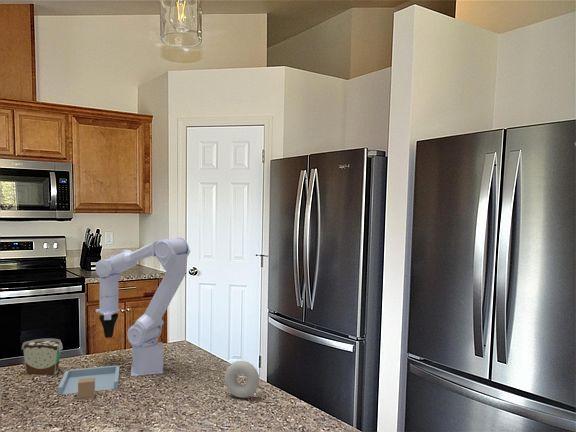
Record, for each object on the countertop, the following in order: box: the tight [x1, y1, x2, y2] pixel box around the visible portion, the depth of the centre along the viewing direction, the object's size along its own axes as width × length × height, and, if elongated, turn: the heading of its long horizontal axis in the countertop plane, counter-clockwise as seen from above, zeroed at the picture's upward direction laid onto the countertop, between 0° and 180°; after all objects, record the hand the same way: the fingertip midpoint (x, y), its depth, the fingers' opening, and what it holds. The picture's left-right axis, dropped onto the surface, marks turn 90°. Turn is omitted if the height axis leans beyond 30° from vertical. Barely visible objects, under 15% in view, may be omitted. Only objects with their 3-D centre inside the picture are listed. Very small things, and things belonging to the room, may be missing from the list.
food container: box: [21, 338, 64, 376], centre depth 142 cm, size 12×6×10 cm, turn 84°
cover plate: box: [59, 378, 107, 415], centre depth 120 cm, size 12×10×5 cm
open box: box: [57, 364, 121, 396], centre depth 133 cm, size 15×14×2 cm
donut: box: [224, 360, 260, 399], centre depth 124 cm, size 10×3×10 cm, turn 74°
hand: (108, 337), depth 148 cm, fingers closed
